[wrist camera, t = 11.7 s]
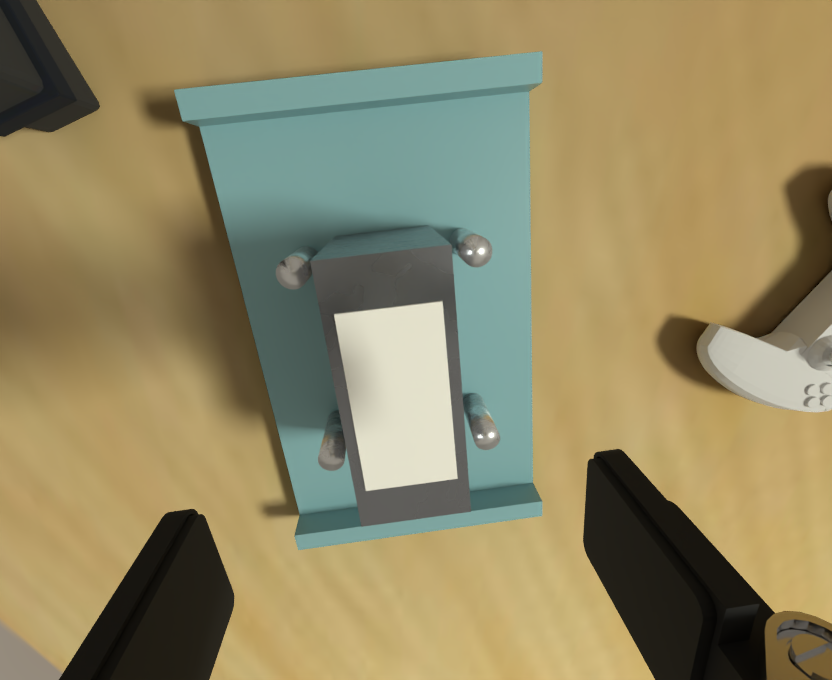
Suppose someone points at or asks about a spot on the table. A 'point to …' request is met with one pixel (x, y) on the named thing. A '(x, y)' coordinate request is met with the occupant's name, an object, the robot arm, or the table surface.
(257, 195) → the pin tray
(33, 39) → the black stepped block
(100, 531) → the table surface
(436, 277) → the block
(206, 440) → the table surface
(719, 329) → the game controller
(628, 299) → the table surface
